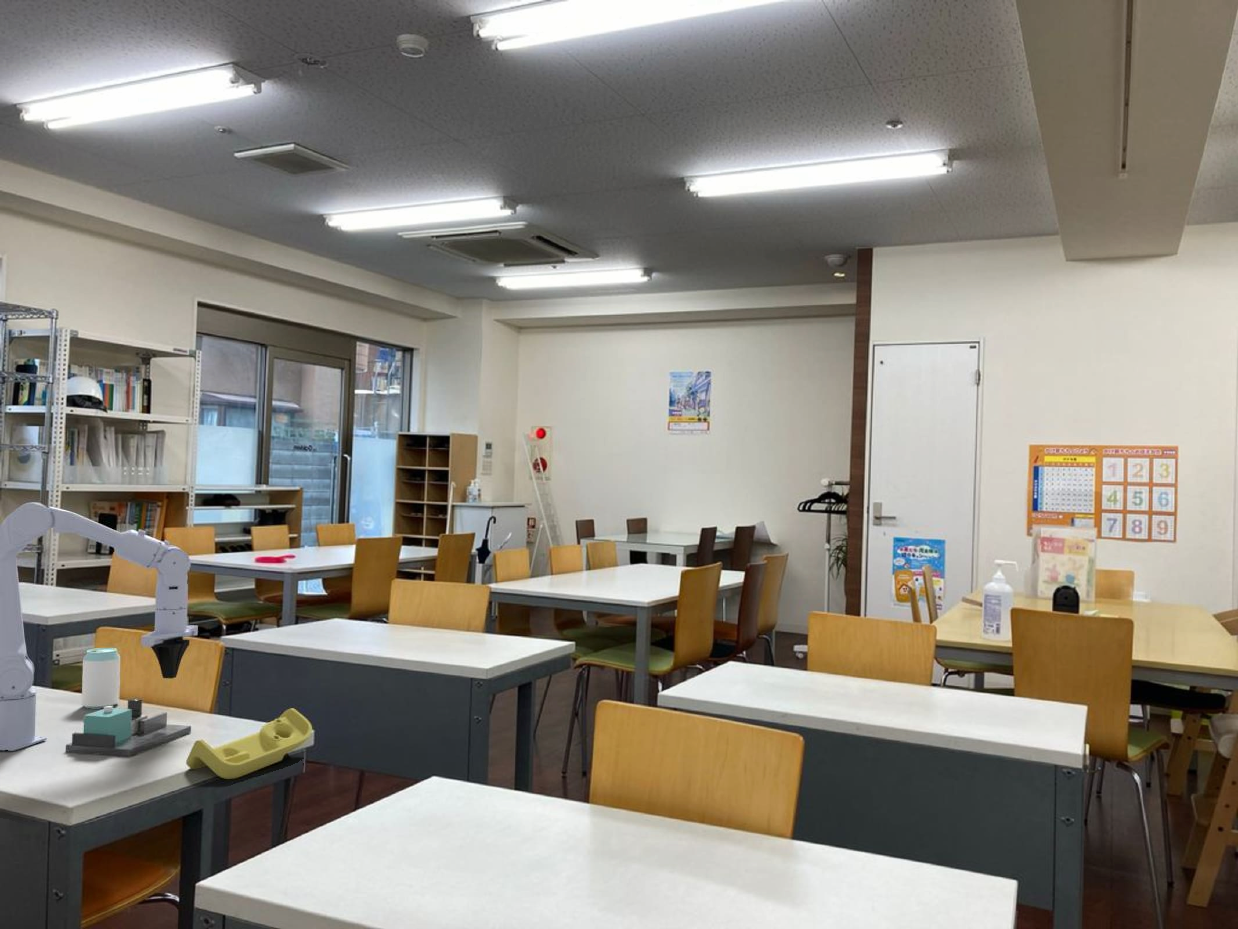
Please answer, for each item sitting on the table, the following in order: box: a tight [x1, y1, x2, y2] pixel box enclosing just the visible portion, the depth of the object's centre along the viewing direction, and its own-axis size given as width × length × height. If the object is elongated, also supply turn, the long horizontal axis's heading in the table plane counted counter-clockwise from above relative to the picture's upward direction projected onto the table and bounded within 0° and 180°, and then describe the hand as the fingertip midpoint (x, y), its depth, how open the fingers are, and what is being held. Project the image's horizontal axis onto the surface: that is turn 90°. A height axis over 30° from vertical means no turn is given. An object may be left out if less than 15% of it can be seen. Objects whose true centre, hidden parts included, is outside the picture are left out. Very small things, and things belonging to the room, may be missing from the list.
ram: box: [127, 698, 149, 735], centre depth 178 cm, size 4×5×6 cm
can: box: [81, 647, 121, 710], centre depth 204 cm, size 7×7×12 cm
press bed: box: [65, 712, 192, 757], centre depth 176 cm, size 13×17×4 cm
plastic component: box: [185, 708, 313, 780], centre depth 165 cm, size 20×7×10 cm
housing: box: [83, 706, 132, 743], centre depth 173 cm, size 5×6×6 cm
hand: (169, 677), depth 186 cm, fingers closed
